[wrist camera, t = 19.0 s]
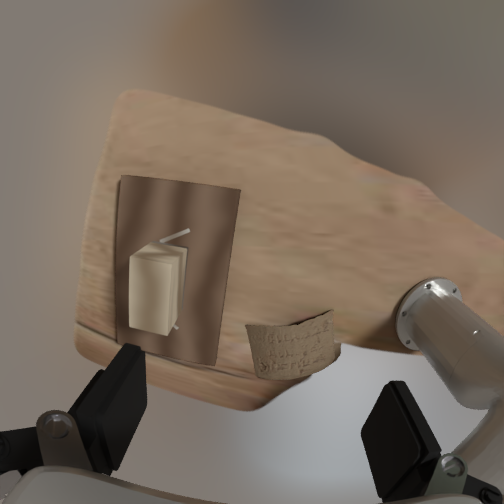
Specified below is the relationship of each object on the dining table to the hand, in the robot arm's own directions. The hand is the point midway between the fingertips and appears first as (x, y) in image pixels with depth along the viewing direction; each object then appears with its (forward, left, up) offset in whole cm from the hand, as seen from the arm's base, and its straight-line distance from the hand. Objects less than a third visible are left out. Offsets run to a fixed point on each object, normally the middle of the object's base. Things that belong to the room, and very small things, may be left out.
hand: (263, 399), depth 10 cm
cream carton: (+12, +8, -29) cm, 32 cm away
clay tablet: (-7, +16, -31) cm, 36 cm away
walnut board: (+12, +8, -30) cm, 34 cm away
